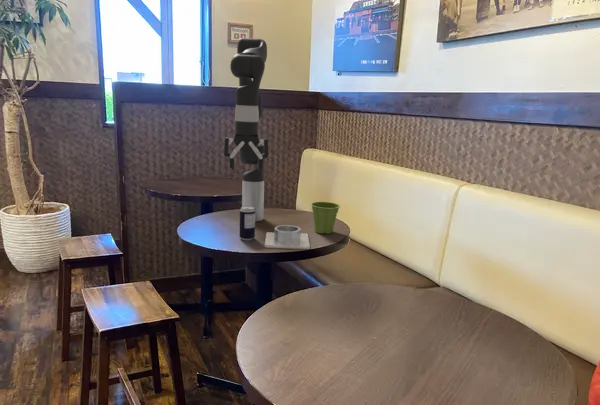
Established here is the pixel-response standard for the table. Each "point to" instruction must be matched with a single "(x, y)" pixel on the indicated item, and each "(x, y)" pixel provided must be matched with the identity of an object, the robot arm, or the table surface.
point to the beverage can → (247, 223)
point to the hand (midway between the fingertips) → (246, 169)
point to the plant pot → (324, 216)
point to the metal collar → (287, 238)
